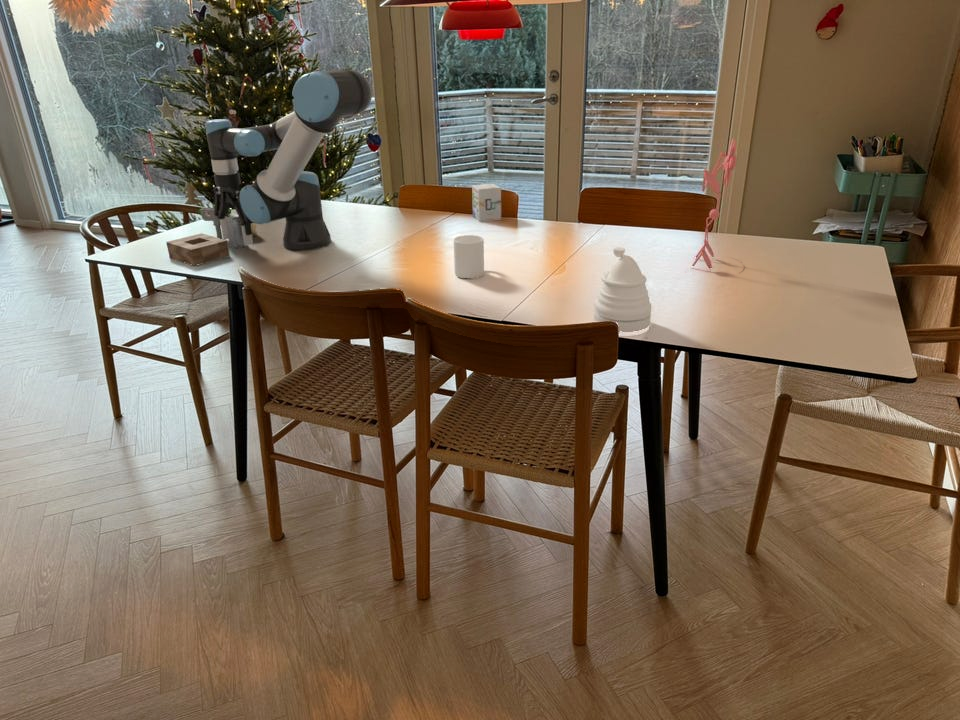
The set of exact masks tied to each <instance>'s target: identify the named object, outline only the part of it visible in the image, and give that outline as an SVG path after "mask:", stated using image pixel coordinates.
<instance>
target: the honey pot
mask: <svg viewBox="0 0 960 720" xmlns="http://www.w3.org/2000/svg"><path fill="white" fill-rule="evenodd" d="M612 249H613V254H614V256H615V257H616V258H618V259H617V260H616V261H615V262H614V264H613V265H612V267H611V268H610V270H609V271H607V272H604V273H603V274H602V275H601V277H600V278H601V281H602V282H603V284H602V286H601V287H600V290H599V293H598V295H597V298H596V300H595V303H594V308H593V309H594V311H593V322H594V321H614V322H617V323H618V325H619V332H620V331H622V332H633V331H639V330H642V329H645V328H647V327H648V326H649V325H650V326H651V316H652V303H651V302H650V296H649V290H648V289H647V286H646V283H647V277H646V275H645V274H643V273H642V271H641V269H640V267H639V265H638V263H637V261H636V260H635V259H634V258H633V257H631V256H630V255H626V254H625V252H626V248H625V247H621V246H616V247H613V248H612Z"/></svg>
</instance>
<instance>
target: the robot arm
mask: <svg viewBox="0 0 960 720" xmlns="http://www.w3.org/2000/svg"><path fill="white" fill-rule="evenodd" d="M291 94H292V95H291V96H292V97H293V99H292V100H291V101H292V102H291V103H292V105H293V111H292V112H291V113H288V114H287V115H285V116H283V117H281V118H279V119H278V120H276V121H274V122H272V123H270V124H264V125H258V126H251V127H243V128H237V127H236V128H235V127H233V125H232V122H231V120H230V119H227V118H225V119H224V118H222V119H221V118H219V119H216V118H215V119H209V120H207V121H206V122H205V124H204V125H205V135H206V138H207V139H206V140H207V144H208V150H209V156H210V161H211V167H212V172H213V173H214V174H213V178H214V184H215V186H216V187H215V186H214V187H213V192H214V203H213V204H214V206H213V208H214V215H215V216H218V219H220V224H221V225H220V227H221V233H222V239H223V240H229V238H228V233H227V227H226V221H225V216H228V215H227V213H228V209H230V205H231V206H232V207H233V208H234V210H235V211H236V214H238V216H239V218H240V220H241V222H242V224H241V227H242V233H243V239H244V245H245V246H247V245H248V246H250V245H254V241H253V239H254V238H252V231H251V223H256V225H266V224H270V223H272V222H276V221H279V220H282V219H285V226H284V230H283V231H284V232H283V237H282V242H283V243H282V244H283V247H284V248H285V249H287V250H292V251H293V250H295V251H310V250H311V251H312V250H316V249H320V248H325V247H328V246H329V245H331V243H332V239H331V237H332V236H331V233H330V232H329V229H328V226H327V225H326V222H325V219H324V216H323V215H324V214H323V207H322V206H323V205H322V199H321V198H322V197H321V188H320V187H321V185H320V182H319V177H318V175H317V174H316V173H314V172H312V171H307V170H306V171H304V170H305V169H306V167H307V165H308V164H309V163H308V162H309V161H310V160H311V158H312V156H313V154H314V153H315V151H316V149H317V147H318V146H319V144H320V143H321V140H322V139H323V137H324V136H325V135H327V134H331V133H332V132H333V131H334V130H335V128H336V127H337V125H338V123H339V122H340V121H341V119H350V118H352V117H355V116H357V115H360V114H362V113H363V112H366V110H368V108H369V106H370V105H371V101H372V99H373V98H372V97H373V91H372V87H371V84H370V82H369V81H368V79H367V78H366V77H365V75H364V74H362V73H361V72H359V71H357V70H353V69H340V70H339V69H337V70H327V71H321V70H319V71H312V72H308V73H305V74H303V75H302V76H300V77H299V78H298V79H297V80H296V81H295V84H294V85H293V88H292V92H291ZM275 150H276V152H275V154H274V156H273V158H272V160H271V162H270V163H269V165H268V167H267V169H264V170H261V171H260V172H259V173H258V174H257V175H256V178H255V180H254V182H253V183H252V184H247V185H245V186H243V187H242V188H241V189H240V190H239V185H241V184H242V181H241V175H240V172H238V171H239V164H238V157H237V155H238V156H243V157H257V156H260V155H261V154H262V153H266V152H269V151H275ZM218 211H219V212H218ZM248 246H247V247H248Z"/></svg>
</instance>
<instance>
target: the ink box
mask: <svg viewBox="0 0 960 720" xmlns="http://www.w3.org/2000/svg"><path fill="white" fill-rule="evenodd" d="M471 190H472V191H471V192H472V193H471V194H472V199H471V200H472V201H471V202H472V217H473V218H474V219H476V221H478V222H479V223H481V222H491V221H501V220H502V188H501V187H500V186H499V185H497V184H495V183H492V182H491V183H483V184H482V183H481V184H472V185H471Z"/></svg>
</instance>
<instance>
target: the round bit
mask: <svg viewBox="0 0 960 720" xmlns="http://www.w3.org/2000/svg"><path fill="white" fill-rule="evenodd" d="M251 231H252V239H254V237H255V238H257V237H258V230H257V224H256V223H251Z"/></svg>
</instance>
